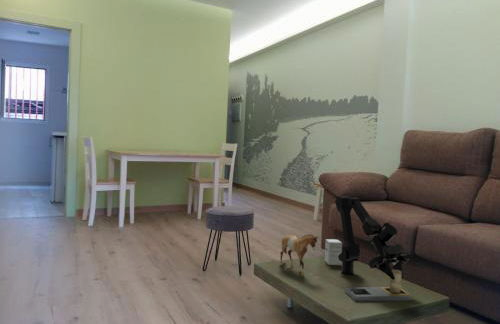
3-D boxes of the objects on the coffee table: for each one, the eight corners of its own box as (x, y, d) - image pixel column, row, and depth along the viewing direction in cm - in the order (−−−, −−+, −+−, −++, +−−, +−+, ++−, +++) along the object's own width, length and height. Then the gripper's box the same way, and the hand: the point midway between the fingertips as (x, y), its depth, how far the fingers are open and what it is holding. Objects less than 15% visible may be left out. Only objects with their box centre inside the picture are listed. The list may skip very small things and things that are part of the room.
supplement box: (324, 261, 226) (325, 238, 225) (337, 261, 226) (338, 239, 226) (327, 265, 218) (329, 242, 218) (341, 265, 219) (342, 242, 219)
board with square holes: (355, 301, 167) (355, 296, 166) (345, 291, 177) (345, 286, 177) (411, 300, 170) (411, 295, 170) (397, 291, 181) (398, 286, 181)
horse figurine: (317, 278, 195) (319, 236, 194) (303, 279, 192) (305, 237, 191) (285, 260, 223) (287, 223, 222) (273, 261, 220) (274, 224, 219)
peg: (387, 292, 177) (388, 269, 176) (396, 291, 178) (397, 269, 177) (393, 295, 172) (394, 272, 172) (402, 295, 173) (403, 272, 173)
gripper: (374, 238, 174) (391, 271, 164) (407, 236, 181) (425, 268, 172) (362, 251, 182) (377, 284, 172) (394, 249, 189) (410, 280, 179)
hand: (398, 278), depth 174 cm, fingers closed on peg, 4 cm apart
